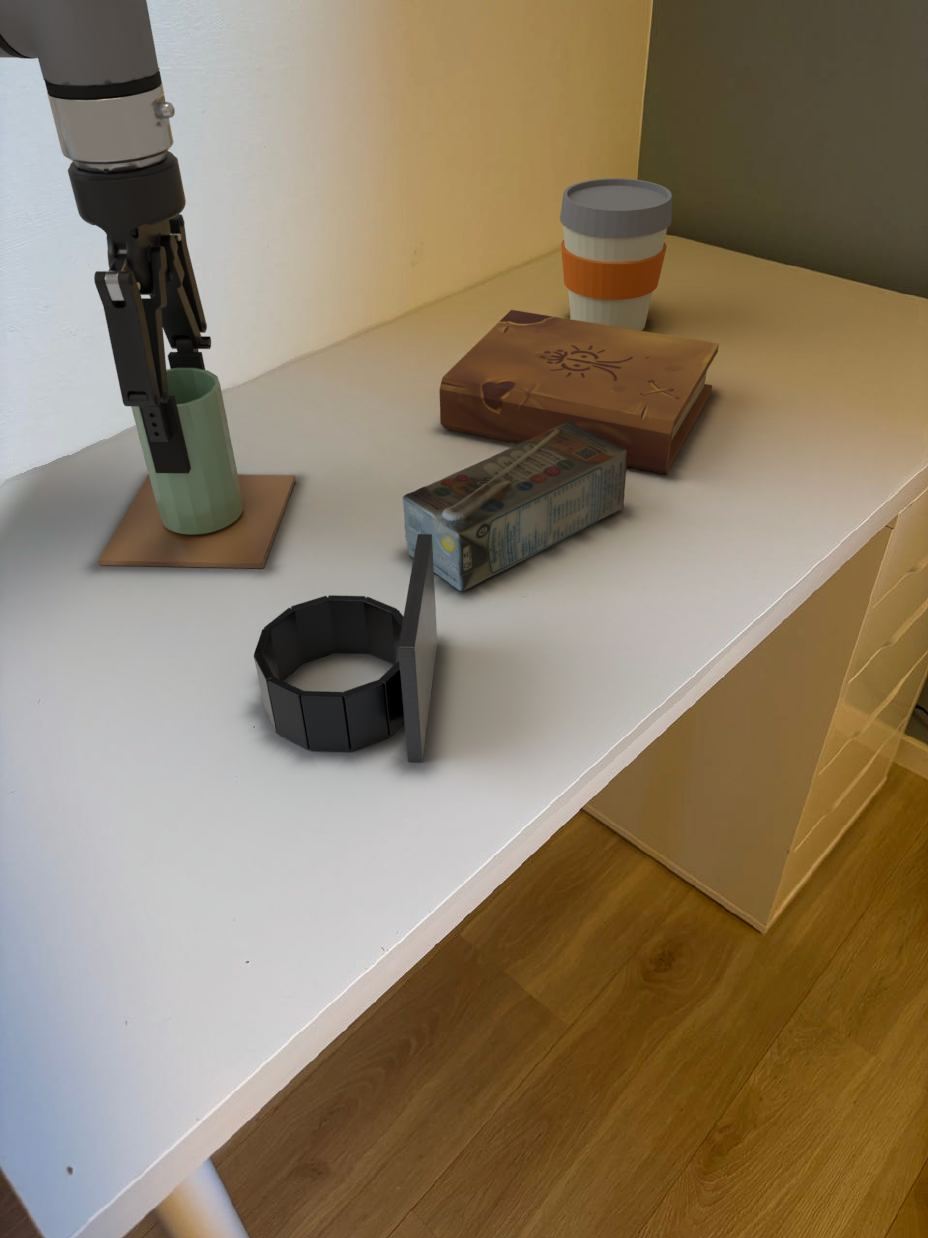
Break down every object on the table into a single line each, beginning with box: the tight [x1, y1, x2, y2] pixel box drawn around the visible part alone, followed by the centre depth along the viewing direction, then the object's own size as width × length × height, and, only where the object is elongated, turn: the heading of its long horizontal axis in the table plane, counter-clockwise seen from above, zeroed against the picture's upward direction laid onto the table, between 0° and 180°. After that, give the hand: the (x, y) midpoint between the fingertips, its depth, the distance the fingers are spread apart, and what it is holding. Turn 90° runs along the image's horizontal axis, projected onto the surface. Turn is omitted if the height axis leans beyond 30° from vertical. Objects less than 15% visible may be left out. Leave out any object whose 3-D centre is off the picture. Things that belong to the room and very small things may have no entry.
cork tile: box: [97, 473, 296, 569], centre depth 88 cm, size 14×14×1 cm
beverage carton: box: [402, 421, 627, 592], centre depth 84 cm, size 8×19×7 cm, turn 129°
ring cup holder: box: [253, 534, 438, 763], centre depth 67 cm, size 12×12×10 cm
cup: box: [130, 368, 243, 535], centre depth 84 cm, size 7×7×12 cm
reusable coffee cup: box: [559, 177, 673, 331], centre depth 115 cm, size 13×12×15 cm
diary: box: [439, 309, 720, 475], centre depth 101 cm, size 23×19×6 cm
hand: (187, 446), depth 84 cm, fingers closed on cup, 7 cm apart
